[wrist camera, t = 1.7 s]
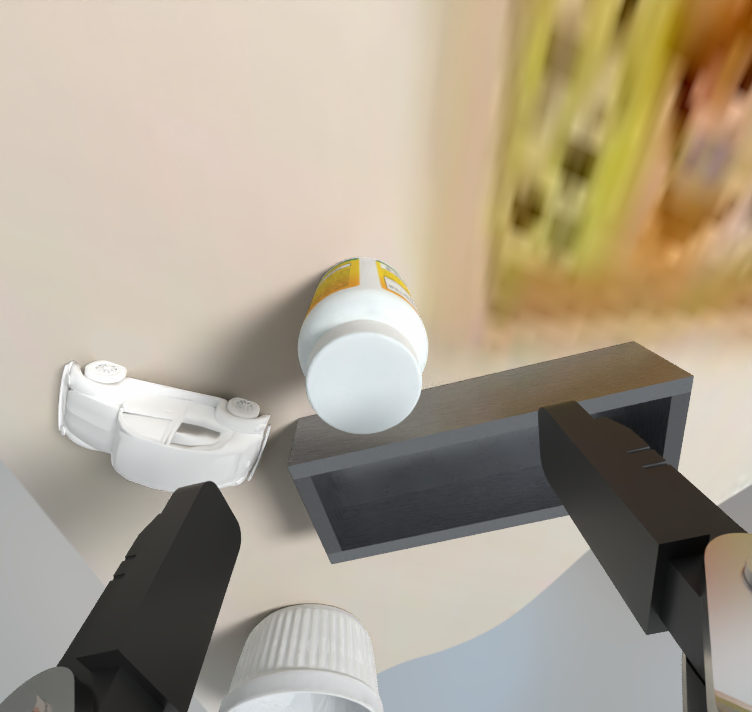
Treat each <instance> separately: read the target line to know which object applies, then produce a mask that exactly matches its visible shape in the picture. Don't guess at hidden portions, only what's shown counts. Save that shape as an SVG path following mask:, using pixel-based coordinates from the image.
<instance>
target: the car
mask: <svg viewBox="0 0 752 712" xmlns="http://www.w3.org/2000/svg"><path fill="white" fill-rule="evenodd" d="M73 362H74V361H70V362H69V363H67V364H65V366H64V370H63V374H62V380H61V385H60V394H59V405H58V429H59V430H61V434H62V436H64V435H65V433H66V435H67V437H68V438H69V439H70V440H71V441H73V442H74V443H76V444H78V445H80V446H82V447H84V448H87V449H90V450H96V451H102V452H106V453H109V454H111V464H112V466H113V468H114V469H115V471H116V472H118V473H119V474H120V475H122V476H123V477H124V478H125V479H127V480H129V481H132V482H134V483H137V484H140V485H143V486H146V487H149V488H152V489H158V490H163V491H169V492H175V491H176V490H177V489H178V488H180V487H184V486H188V485H193V484H197V483H201V482H206V481H212V482H214V483H215V484H216V485H217V487H218V488H219V489H221V488H224V487H232V486H237V485H239V484H241V483H243V482H244V481H245V480H246V478H247V476H248V473H249V472H251V474H250V476H249V477H248V480H247V481H250V479H251V477H252V476H253V474H254V472H255V470H256V468H257V466H258V464H259V461H260V459H261V456H262V453H263V451H264V448H265V446H266V442H267V439H268V436H269V432H270V428H271V425H268V428H267V432H266V435H264V431H265V428H266V426H267V423H268V420H269V418H270V415H271V414H270V415H265V414H264V415H262V416H260V417H258V415H259V412H260V407H259V405H258V404H256V403H255V402H252V401H249V400H246V399H243V398H238V397H235V398H232V399H230V400H229V401H227V400H225V399H222V398H220V397H215V396H210V395H206V394H201V393H197V392H192V391H188V390H183V389H179V388H174V387H170V386H165V385H161V384H156V383H152V382H147V381H142V380H138V379H134V378H130V377H126V373H127V369H126V368H125V367H123V366H120V365H117V364H114V363H111V362H108V361H104V360H98V361H94V362H91V363H89V364H87V365H86V366H85V372H84V375H83V374H82V372H81V368H80V365H79V364H77V363H76V361H75V362H74V363H73ZM264 437H265V439H264ZM263 441H264V443H263ZM256 460H257V461H256ZM255 462H256V464H255ZM254 464H255V466H254ZM253 466H254V468H253V470H252V471H250V469H251V468H252V467H253Z"/></svg>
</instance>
